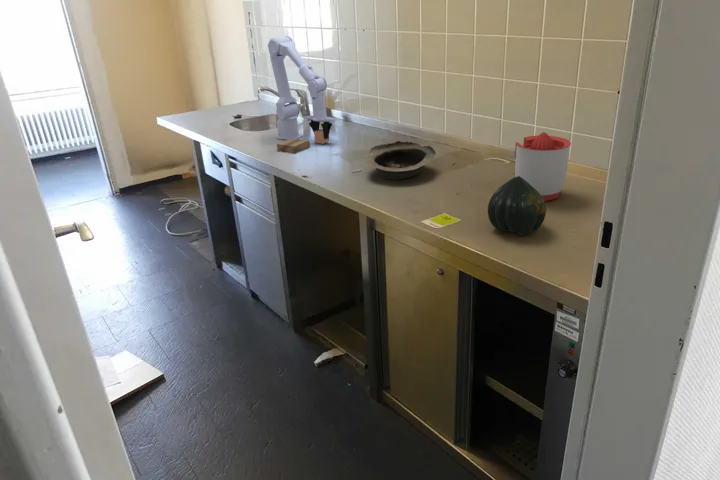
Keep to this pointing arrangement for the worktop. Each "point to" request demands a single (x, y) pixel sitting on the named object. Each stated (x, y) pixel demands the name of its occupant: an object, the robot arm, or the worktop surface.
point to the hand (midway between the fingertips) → (322, 138)
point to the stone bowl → (399, 159)
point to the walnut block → (293, 145)
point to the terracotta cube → (320, 136)
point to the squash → (517, 207)
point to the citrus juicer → (543, 163)
